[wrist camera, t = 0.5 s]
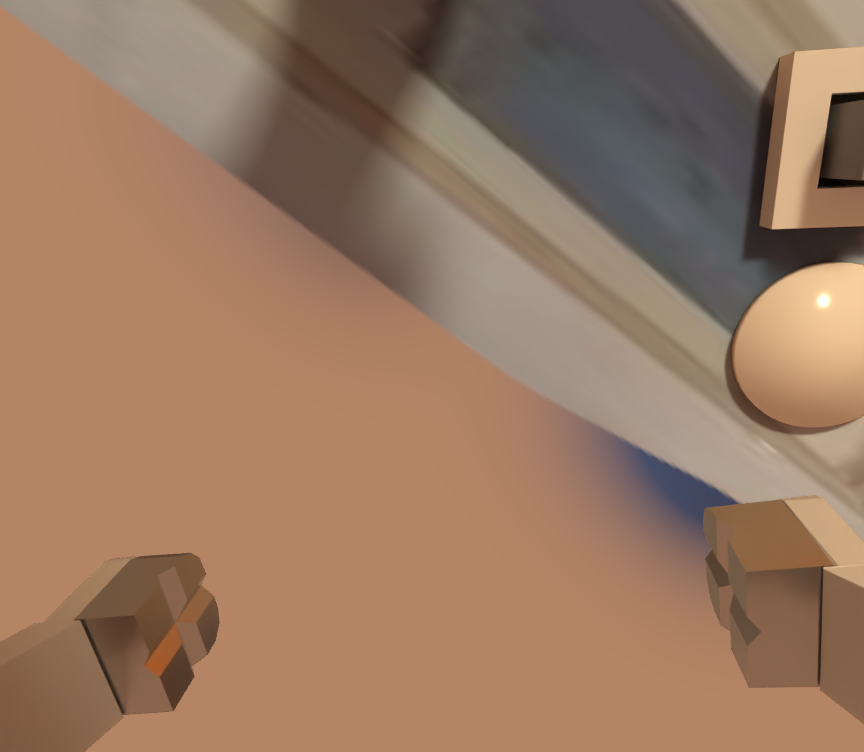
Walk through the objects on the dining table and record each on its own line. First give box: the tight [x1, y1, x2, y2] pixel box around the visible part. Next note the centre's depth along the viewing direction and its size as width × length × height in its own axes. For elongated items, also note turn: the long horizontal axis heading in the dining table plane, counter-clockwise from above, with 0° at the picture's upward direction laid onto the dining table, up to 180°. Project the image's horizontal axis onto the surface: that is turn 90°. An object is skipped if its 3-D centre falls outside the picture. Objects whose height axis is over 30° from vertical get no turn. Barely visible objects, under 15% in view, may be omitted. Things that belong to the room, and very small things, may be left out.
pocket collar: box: [759, 47, 864, 229], centre depth 45 cm, size 12×12×2 cm
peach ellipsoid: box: [731, 262, 864, 428], centre depth 51 cm, size 14×14×1 cm
